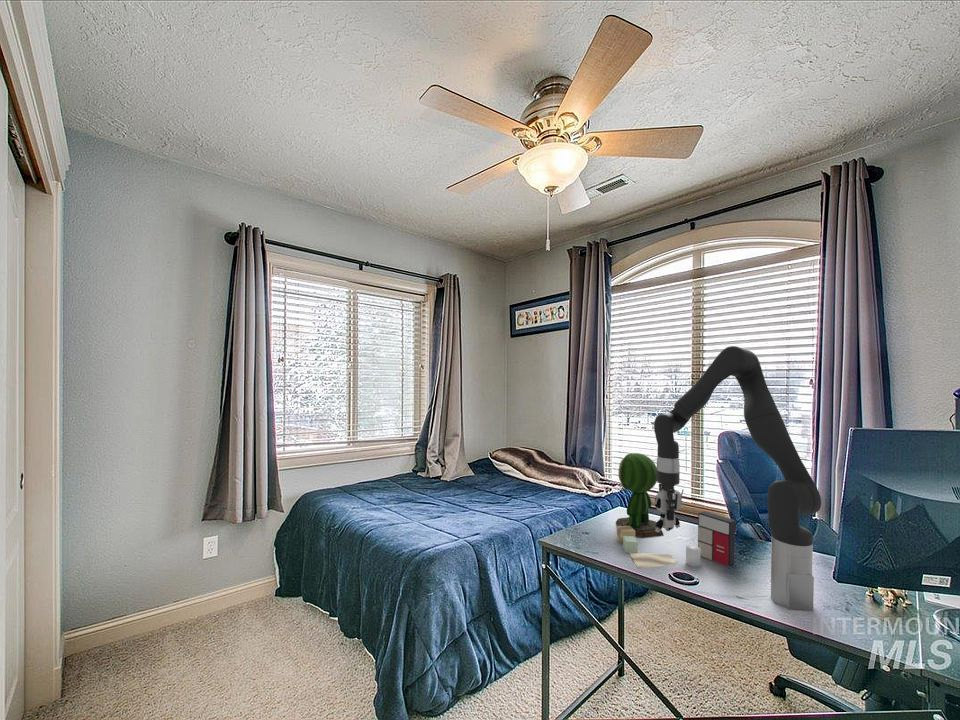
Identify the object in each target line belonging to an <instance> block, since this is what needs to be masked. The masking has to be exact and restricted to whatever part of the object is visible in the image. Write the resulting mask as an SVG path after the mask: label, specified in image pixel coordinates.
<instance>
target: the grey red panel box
mask: <svg viewBox="0 0 960 720" xmlns="http://www.w3.org/2000/svg"><path fill="white" fill-rule="evenodd" d="M697 522H698V523H697V524H698V525H697V527H698V528H697V531H698V532H697V546H698V547H700V548H701V557H702V558H705V559H708V560H709V561H710V560H711V561H713V562H716V563H719V564H721V565H724V566H732V565H735V547H736V545H735V542H736V541H735V539H736V536H735V535H736V532H737V529H736V528H737V521H736V520H735V519H733V518H729V517H726V516H722V515H719V514H715V513H713V512H709V511H705V510H704V511H701V512H698V521H697Z"/></svg>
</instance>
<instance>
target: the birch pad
mask: <svg viewBox="0 0 960 720" xmlns="http://www.w3.org/2000/svg"><path fill="white" fill-rule="evenodd" d="M629 556H630V557H631V560H632V561H633V563H634V565H635V567H636V568H637V569H640V570H641V569H646V568H654V567H662V566H670V565H677V564H678V563H677V561H676V559H675V558H674V557H673V555H672V554H661V553H659V554H658V553H643V552H638V553H629Z"/></svg>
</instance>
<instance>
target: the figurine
mask: <svg viewBox="0 0 960 720" xmlns="http://www.w3.org/2000/svg"><path fill="white" fill-rule="evenodd" d="M617 475H618V480H619V481H620V483H621V486H622V487H623V488H624V489H625V490H628V491H629V492H632V494H631V495H630V498H629V500H628V503H627V505H626V514H627V517H621V518H617V519H616V521H615V524H616V527H617V526H631V527H632V528H633V529H634V530H635V538H636V537H637V538H640V539H646V538H656V537H663V536H664V532H663V530H662V529H661V528H660V532H659V533H658V532H656V531H655V530H656V528H657V527H656V523H657V521H655V520H652V519H650V517H649V516H650V515H649V514H650V513H649V508H651V507H652V499H651V497H650V495H649V493H648V492H649V491H650V490H651V489H653V488H654V487H655V485H656V484H657V483H658V482H657V464H655V461H653V460H652V459H651V458H650V457H649V456H647V455H646V454H643V453H639V452H634V453H628V454H626V455H624V457H623V458H622V459H621V460H620V462H619V466H618V474H617Z"/></svg>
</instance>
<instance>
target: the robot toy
mask: <svg viewBox="0 0 960 720" xmlns="http://www.w3.org/2000/svg"><path fill="white" fill-rule="evenodd" d="M675 493H677V494H678V499H677V510H674V520H673V521H669V520H667V503H666V499H667V500H669V498H668V497H667V491H663V490H661V491H660V492H659V491H658V492H657V493H656V494H655V498H654V506H655V508H656V510H657V511H658V512H661V513H660V514H659V516H660V517H659V520H657V521H656V522H657V523H656V527H657V528H656V530H655V531H656V532H658V533H659V532H660V528H661V530H662V529H665V530H666V531H667V532H671V530H673V529H674V528H676V529H679V528H680V526H681V525H680V524H681V523H680V519H679V518H678V517H676V516H677V513H676V512H677V511H678V510H679V509H680V508H681V506H682V497H683V494H684V489H681V491H679V490H677V489H675ZM671 506H672V504H671Z"/></svg>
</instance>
